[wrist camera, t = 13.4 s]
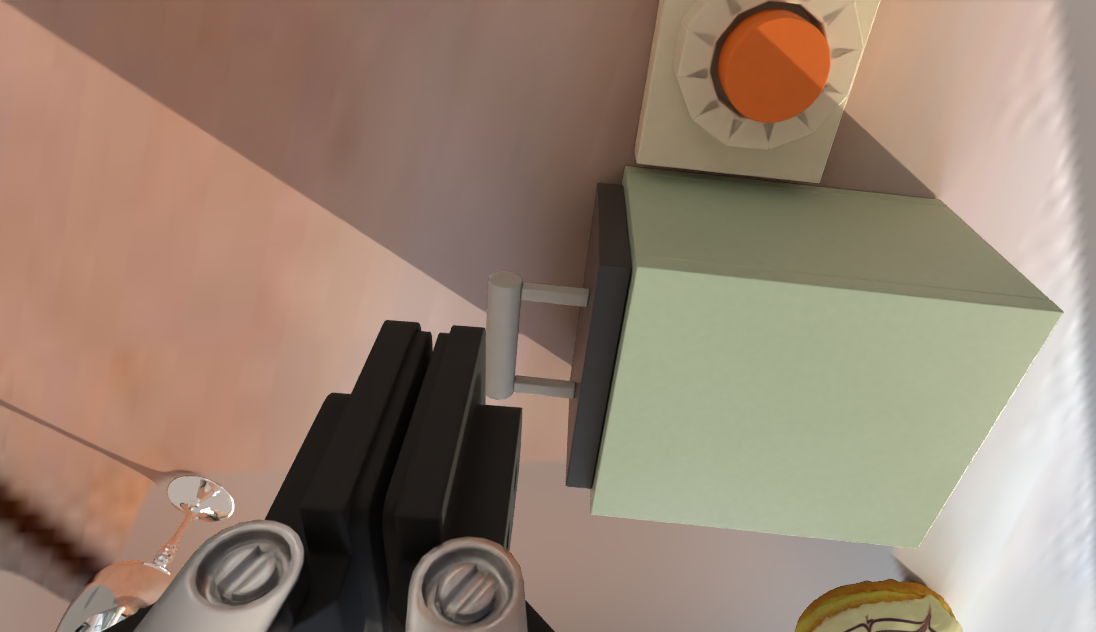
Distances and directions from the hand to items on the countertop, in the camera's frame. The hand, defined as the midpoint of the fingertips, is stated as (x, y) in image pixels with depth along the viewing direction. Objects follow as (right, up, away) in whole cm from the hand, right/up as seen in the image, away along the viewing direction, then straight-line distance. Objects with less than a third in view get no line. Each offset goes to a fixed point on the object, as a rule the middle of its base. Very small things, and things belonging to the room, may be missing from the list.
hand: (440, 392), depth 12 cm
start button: (+10, +11, +13) cm, 20 cm away
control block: (+10, +12, +16) cm, 23 cm away
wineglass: (-22, -11, +33) cm, 41 cm away
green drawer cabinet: (+12, +2, +22) cm, 26 cm away
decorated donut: (+25, -20, +36) cm, 48 cm away
